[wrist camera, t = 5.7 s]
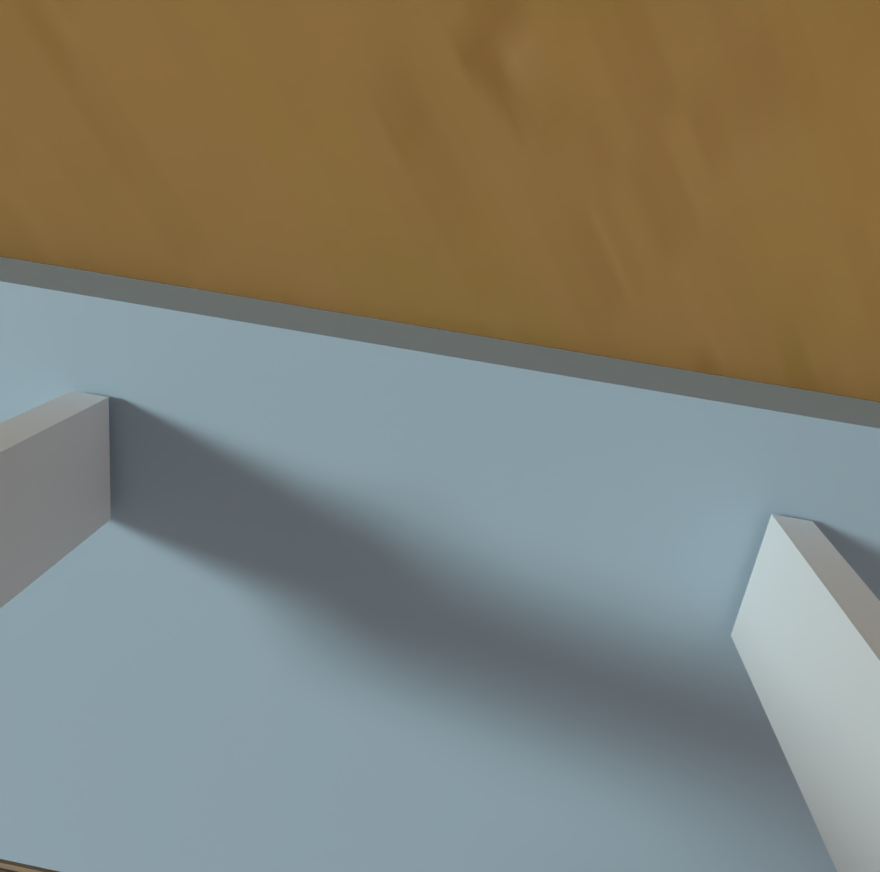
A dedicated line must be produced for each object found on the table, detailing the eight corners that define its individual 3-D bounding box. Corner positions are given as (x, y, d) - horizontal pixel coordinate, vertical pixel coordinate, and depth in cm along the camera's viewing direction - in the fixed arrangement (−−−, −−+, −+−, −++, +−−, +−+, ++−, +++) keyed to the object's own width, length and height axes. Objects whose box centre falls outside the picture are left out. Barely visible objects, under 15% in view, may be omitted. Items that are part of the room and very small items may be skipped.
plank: (-52, 778, 22) (-106, 835, 20) (-132, 234, 16) (-220, 244, 14) (824, 961, 20) (854, 1041, 18) (1093, 437, 14) (1176, 478, 13)
